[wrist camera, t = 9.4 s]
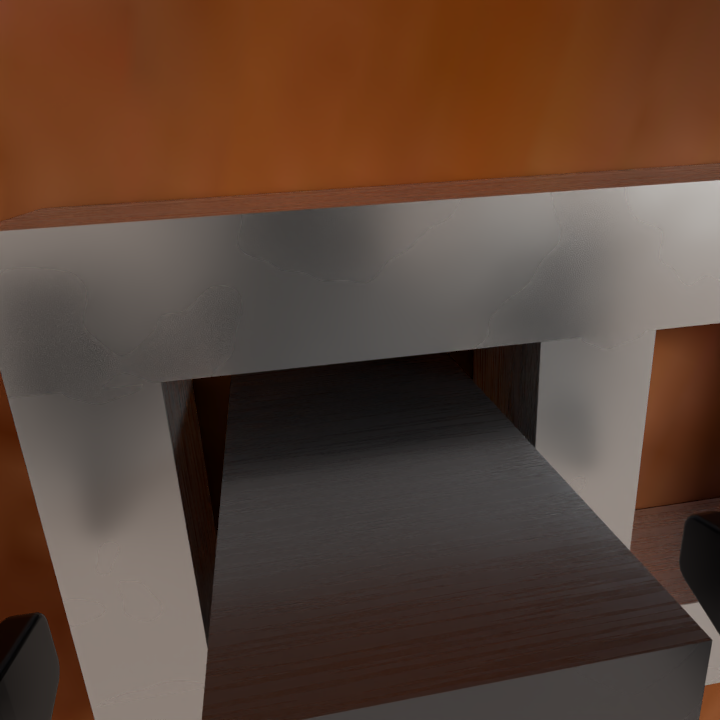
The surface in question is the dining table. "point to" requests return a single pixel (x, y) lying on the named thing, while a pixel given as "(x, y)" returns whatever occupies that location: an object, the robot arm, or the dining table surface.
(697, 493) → the dining table surface
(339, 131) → the dining table surface
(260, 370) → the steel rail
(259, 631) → the graphite block
